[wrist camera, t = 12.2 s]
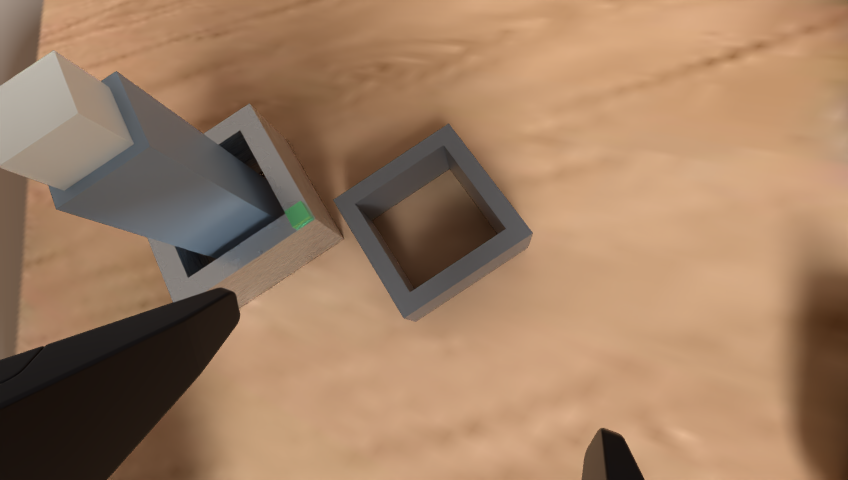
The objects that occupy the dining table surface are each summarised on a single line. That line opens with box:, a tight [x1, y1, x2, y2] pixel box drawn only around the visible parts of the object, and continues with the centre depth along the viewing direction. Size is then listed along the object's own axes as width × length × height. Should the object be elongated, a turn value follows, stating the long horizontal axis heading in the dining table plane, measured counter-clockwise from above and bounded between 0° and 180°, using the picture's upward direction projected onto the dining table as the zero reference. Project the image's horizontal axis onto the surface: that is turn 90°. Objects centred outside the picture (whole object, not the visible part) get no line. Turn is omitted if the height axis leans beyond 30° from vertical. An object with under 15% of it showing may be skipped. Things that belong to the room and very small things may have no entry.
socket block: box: [147, 103, 344, 308], centre depth 23 cm, size 8×8×4 cm
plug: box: [0, 50, 285, 259], centre depth 19 cm, size 4×4×13 cm
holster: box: [333, 124, 533, 322], centre depth 22 cm, size 7×7×3 cm
